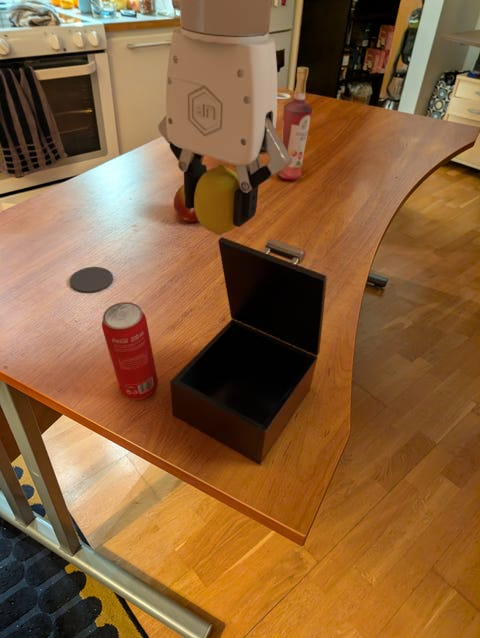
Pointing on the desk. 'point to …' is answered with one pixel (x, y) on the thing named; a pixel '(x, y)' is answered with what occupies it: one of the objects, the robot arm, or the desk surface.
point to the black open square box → (243, 388)
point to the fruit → (183, 207)
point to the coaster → (91, 279)
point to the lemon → (216, 199)
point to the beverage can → (130, 349)
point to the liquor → (296, 127)
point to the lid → (275, 292)
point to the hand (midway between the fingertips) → (219, 211)
